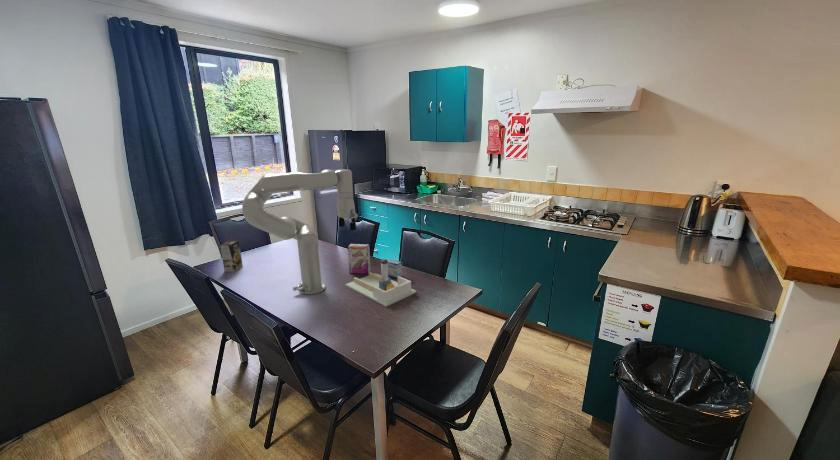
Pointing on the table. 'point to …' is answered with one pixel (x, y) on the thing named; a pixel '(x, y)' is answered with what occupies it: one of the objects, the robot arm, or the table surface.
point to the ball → (390, 286)
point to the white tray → (384, 297)
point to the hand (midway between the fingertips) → (347, 228)
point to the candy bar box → (359, 258)
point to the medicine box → (394, 268)
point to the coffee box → (231, 256)
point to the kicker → (384, 275)
